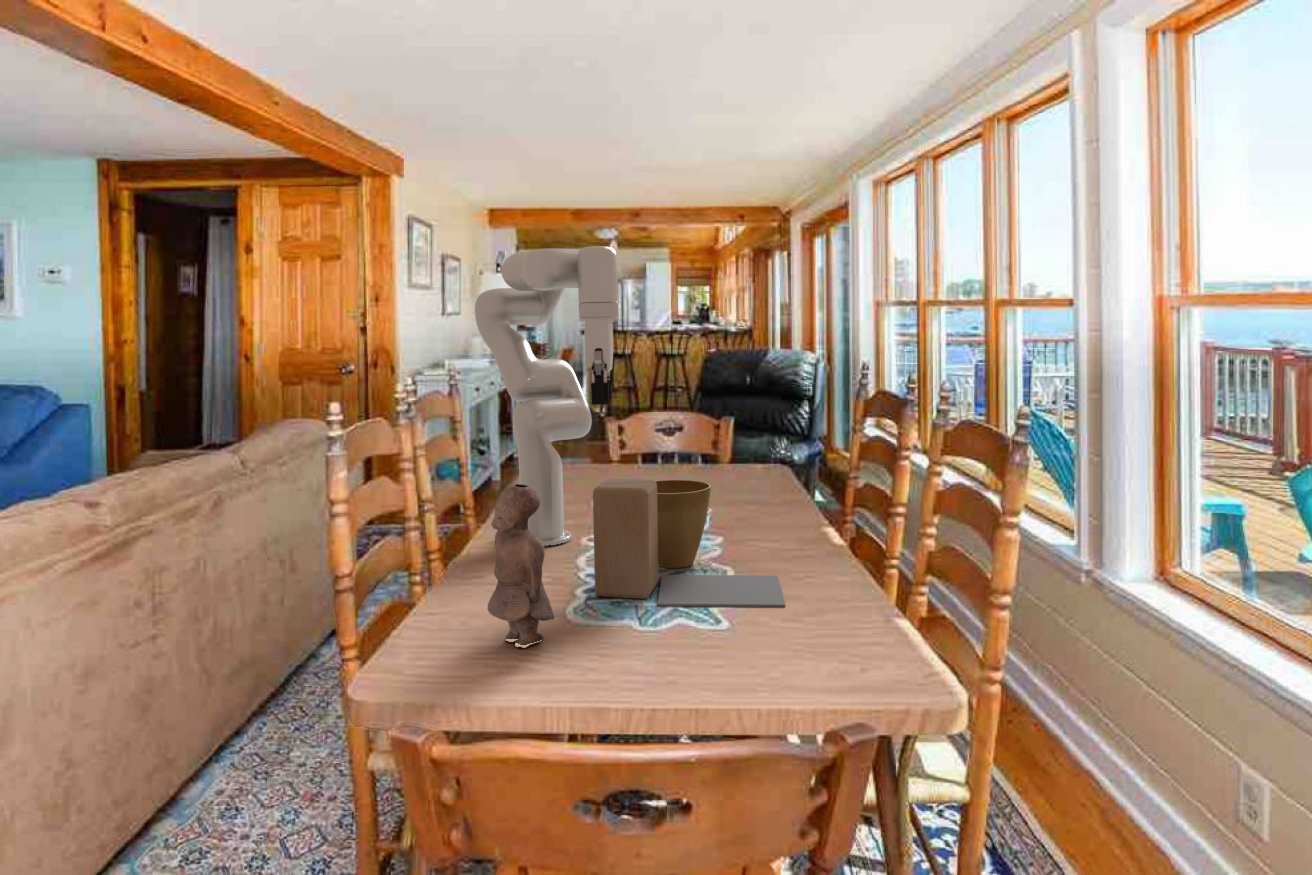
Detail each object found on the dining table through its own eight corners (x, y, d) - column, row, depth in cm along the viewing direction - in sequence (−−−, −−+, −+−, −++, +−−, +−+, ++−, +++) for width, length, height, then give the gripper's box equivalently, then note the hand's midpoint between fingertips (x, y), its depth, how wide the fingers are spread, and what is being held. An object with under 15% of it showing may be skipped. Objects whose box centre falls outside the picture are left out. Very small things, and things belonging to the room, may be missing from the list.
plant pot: (719, 556, 187) (719, 480, 185) (699, 576, 173) (698, 495, 171) (651, 550, 192) (650, 476, 189) (626, 570, 178) (625, 490, 176)
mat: (657, 605, 156) (657, 603, 156) (662, 576, 173) (662, 574, 173) (785, 606, 155) (785, 604, 155) (777, 577, 172) (777, 575, 172)
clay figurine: (474, 638, 142) (468, 482, 139) (530, 624, 148) (525, 474, 145) (515, 662, 132) (509, 495, 128) (572, 646, 138) (568, 486, 134)
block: (648, 600, 159) (646, 489, 156) (593, 597, 161) (591, 488, 158) (659, 583, 169) (658, 478, 166) (607, 581, 171) (605, 477, 168)
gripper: (582, 314, 181) (586, 399, 183) (575, 312, 163) (578, 406, 165) (620, 313, 181) (623, 398, 183) (616, 311, 163) (619, 405, 165)
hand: (601, 402), depth 174 cm, fingers open, 9 cm apart
